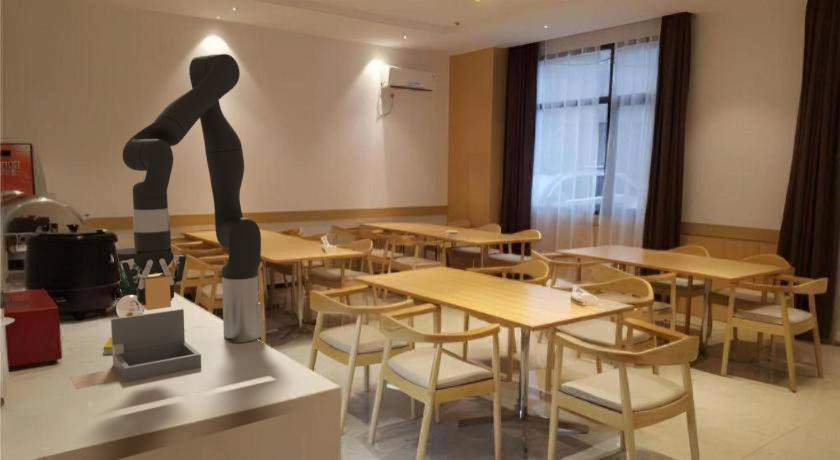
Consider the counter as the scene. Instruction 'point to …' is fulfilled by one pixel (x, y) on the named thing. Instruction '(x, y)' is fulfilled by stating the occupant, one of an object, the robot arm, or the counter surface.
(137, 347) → the case
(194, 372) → the counter surface
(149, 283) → the block
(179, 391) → the counter surface
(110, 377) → the pad
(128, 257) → the coffee jar
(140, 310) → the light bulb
